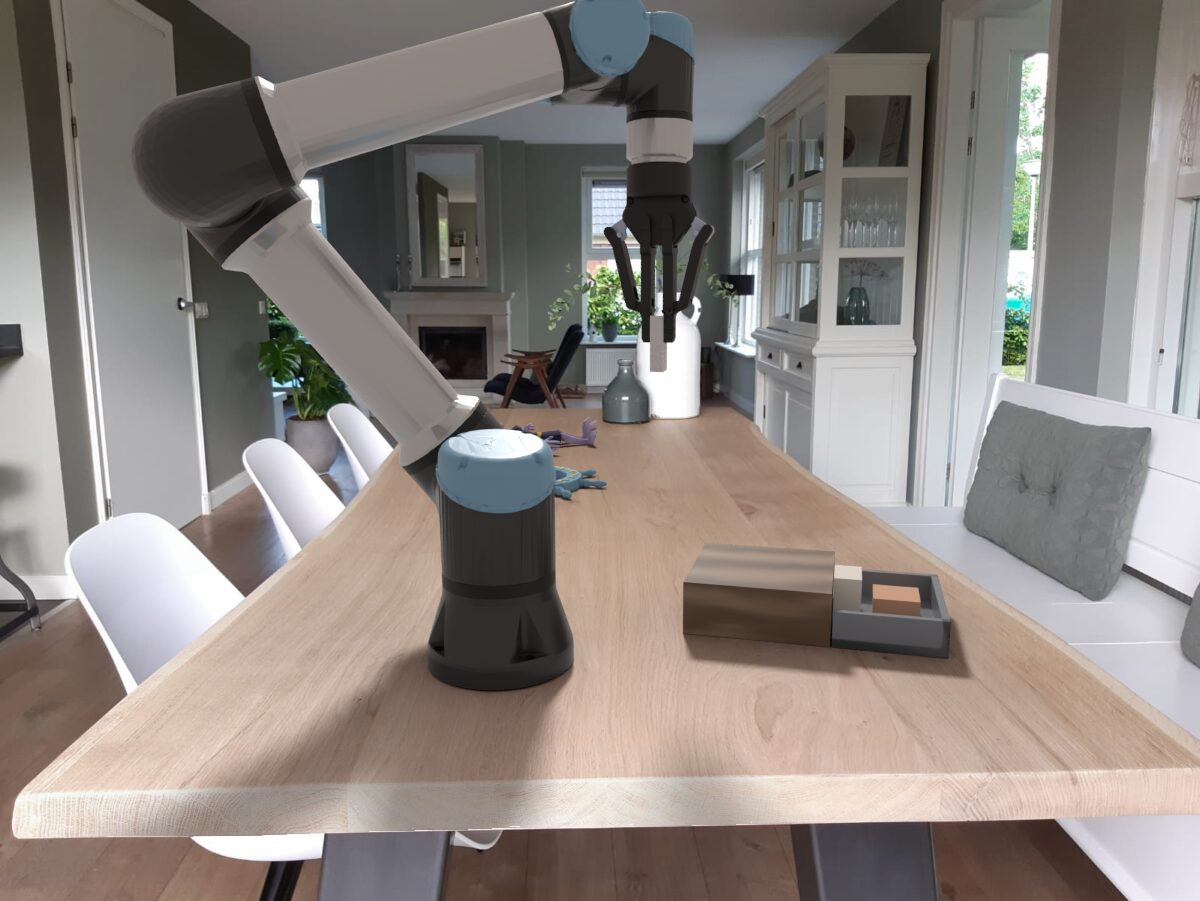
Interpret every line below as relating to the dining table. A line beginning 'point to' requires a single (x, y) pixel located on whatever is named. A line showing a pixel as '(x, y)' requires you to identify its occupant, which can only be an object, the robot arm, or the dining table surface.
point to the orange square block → (896, 600)
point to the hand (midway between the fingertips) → (658, 370)
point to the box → (896, 619)
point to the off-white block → (847, 588)
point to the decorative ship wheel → (573, 480)
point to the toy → (564, 434)
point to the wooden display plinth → (760, 594)
